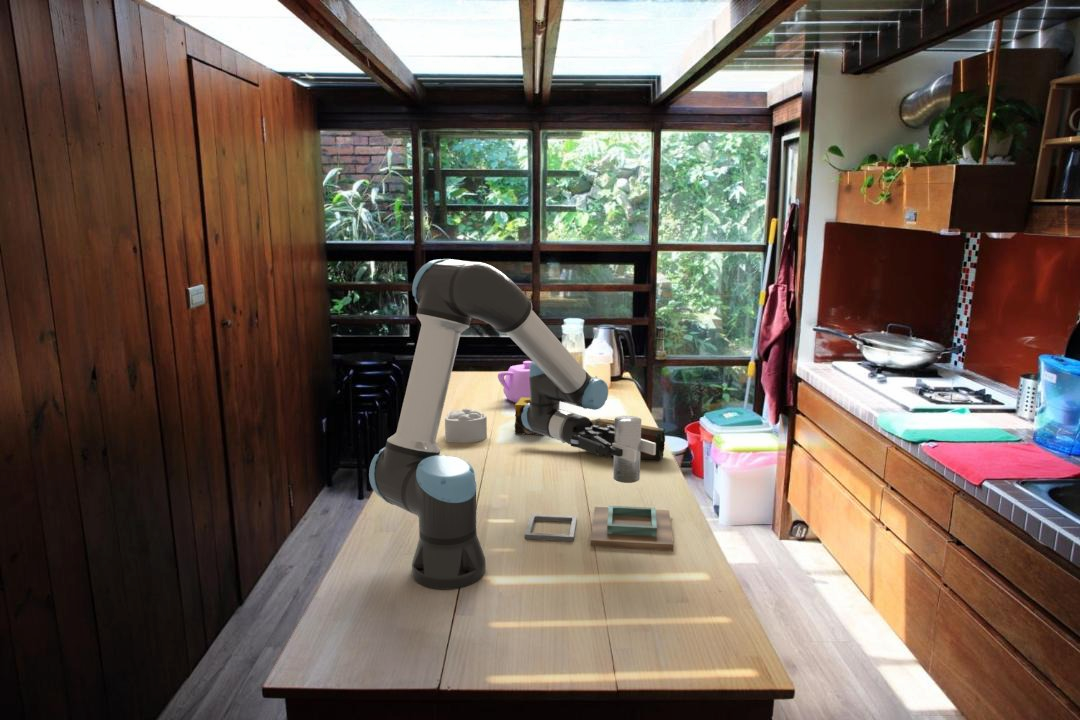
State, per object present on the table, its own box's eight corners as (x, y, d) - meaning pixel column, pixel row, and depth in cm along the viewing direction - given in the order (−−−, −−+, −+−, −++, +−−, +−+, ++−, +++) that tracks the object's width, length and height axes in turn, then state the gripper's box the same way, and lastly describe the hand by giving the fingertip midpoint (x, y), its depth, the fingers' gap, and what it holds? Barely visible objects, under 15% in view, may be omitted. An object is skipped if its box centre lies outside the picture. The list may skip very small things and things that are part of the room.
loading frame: (573, 541, 165) (573, 537, 165) (524, 538, 167) (524, 534, 166) (576, 520, 176) (576, 516, 176) (531, 517, 177) (531, 514, 177)
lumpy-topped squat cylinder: (448, 432, 242) (448, 407, 240) (488, 432, 241) (487, 407, 240) (444, 442, 232) (443, 416, 230) (485, 442, 231) (485, 416, 229)
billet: (640, 483, 165) (641, 424, 162) (613, 482, 166) (614, 423, 163) (639, 473, 171) (640, 416, 168) (613, 472, 172) (614, 415, 169)
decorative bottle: (669, 442, 222) (529, 425, 237) (667, 418, 215) (523, 402, 230) (662, 470, 214) (518, 450, 229) (660, 446, 207) (512, 427, 222)
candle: (544, 436, 238) (544, 406, 236) (514, 434, 240) (513, 404, 238) (550, 426, 247) (550, 398, 245) (521, 425, 249) (521, 396, 247)
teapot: (489, 399, 281) (488, 360, 278) (538, 392, 291) (537, 355, 288) (515, 414, 262) (515, 373, 258) (566, 406, 271) (567, 366, 268)
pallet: (673, 550, 161) (673, 536, 160) (590, 546, 163) (590, 531, 162) (668, 516, 178) (669, 502, 177) (594, 512, 180) (594, 499, 180)
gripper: (598, 434, 187) (671, 458, 170) (543, 452, 175) (616, 479, 158) (598, 406, 185) (672, 427, 169) (543, 421, 173) (616, 446, 156)
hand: (644, 452), depth 163 cm, fingers closed on billet, 6 cm apart
